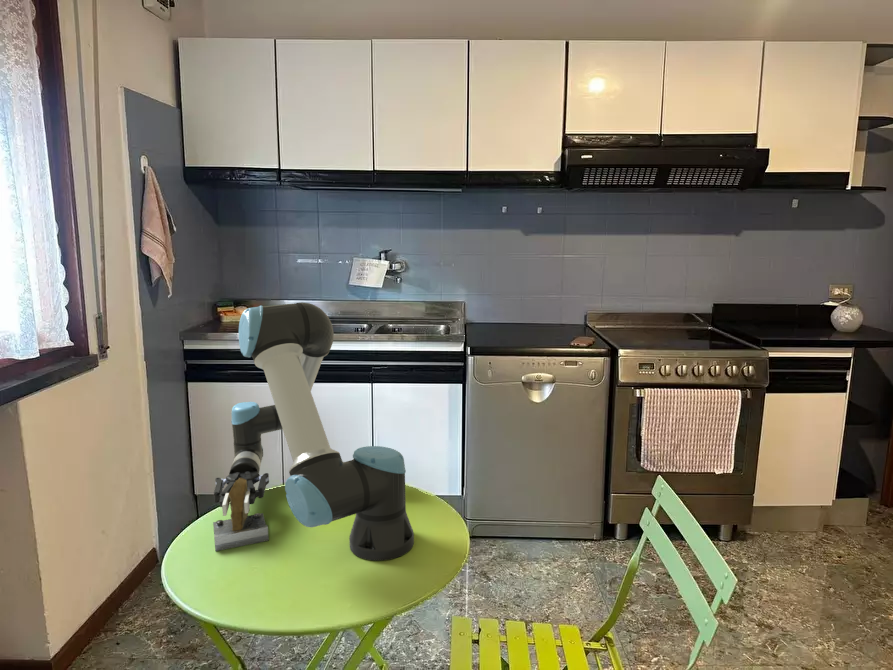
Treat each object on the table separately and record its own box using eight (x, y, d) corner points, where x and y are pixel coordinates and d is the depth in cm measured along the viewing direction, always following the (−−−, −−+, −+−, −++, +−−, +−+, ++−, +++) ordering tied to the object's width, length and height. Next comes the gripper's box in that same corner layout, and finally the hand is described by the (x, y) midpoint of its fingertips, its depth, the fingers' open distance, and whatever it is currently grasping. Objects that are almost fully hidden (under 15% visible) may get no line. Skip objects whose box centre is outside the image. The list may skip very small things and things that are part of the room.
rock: (246, 524, 140) (268, 496, 149) (217, 501, 139) (241, 474, 148) (226, 546, 145) (249, 517, 154) (198, 524, 144) (222, 496, 153)
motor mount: (268, 540, 144) (267, 526, 144) (215, 551, 140) (214, 537, 139) (263, 518, 155) (262, 505, 155) (213, 527, 151) (212, 514, 150)
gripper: (278, 479, 166) (274, 519, 144) (212, 486, 163) (197, 528, 140) (277, 454, 165) (272, 490, 142) (210, 460, 161) (194, 498, 139)
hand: (235, 509), depth 141 cm, fingers closed on rock, 4 cm apart
